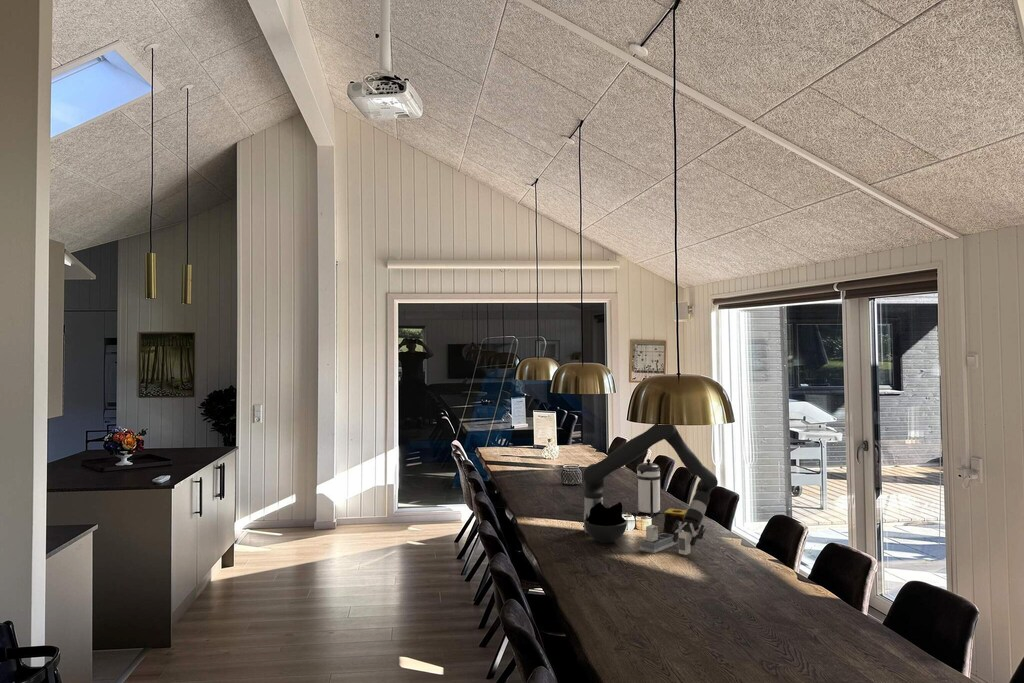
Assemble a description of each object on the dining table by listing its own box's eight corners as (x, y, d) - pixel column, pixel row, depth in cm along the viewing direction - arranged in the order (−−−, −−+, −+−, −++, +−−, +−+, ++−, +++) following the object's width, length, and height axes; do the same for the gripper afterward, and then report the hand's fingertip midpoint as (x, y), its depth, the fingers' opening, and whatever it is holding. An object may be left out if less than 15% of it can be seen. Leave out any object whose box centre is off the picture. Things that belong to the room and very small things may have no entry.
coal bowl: (577, 544, 320) (577, 504, 320) (593, 534, 337) (593, 495, 337) (619, 550, 310) (618, 508, 310) (632, 539, 328) (632, 499, 328)
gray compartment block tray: (653, 553, 306) (653, 529, 306) (639, 550, 311) (639, 526, 311) (677, 543, 320) (677, 521, 320) (663, 541, 325) (663, 518, 325)
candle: (663, 532, 340) (663, 512, 341) (668, 527, 349) (668, 508, 350) (684, 535, 336) (683, 514, 336) (689, 530, 345) (688, 510, 345)
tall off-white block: (685, 555, 303) (685, 534, 303) (678, 553, 305) (678, 533, 305) (690, 553, 306) (690, 532, 306) (683, 551, 308) (683, 531, 308)
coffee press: (667, 516, 372) (666, 461, 372) (637, 516, 372) (637, 461, 372) (660, 509, 389) (660, 456, 389) (632, 509, 389) (632, 456, 390)
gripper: (678, 505, 316) (665, 535, 308) (707, 510, 306) (694, 541, 298) (684, 515, 320) (671, 545, 311) (712, 520, 310) (700, 551, 301)
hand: (682, 543), depth 304 cm, fingers open, 8 cm apart
